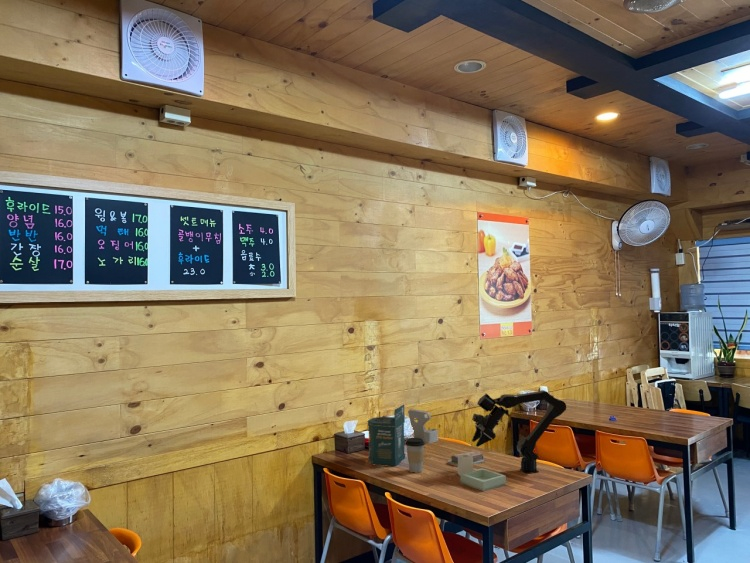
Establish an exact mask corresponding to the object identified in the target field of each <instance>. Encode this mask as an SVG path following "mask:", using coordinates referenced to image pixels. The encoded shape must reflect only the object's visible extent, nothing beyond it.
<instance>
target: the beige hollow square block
mask: <svg viewBox="0 0 750 563" xmlns="http://www.w3.org/2000/svg"><path fill="white" fill-rule="evenodd" d="M460 454H461V453H460ZM470 471H474V465H473V457H472V456H471V455H470V454H461V455H458V467H457V474H458V475H459V477H461V475H460V474H462V473H466V472H470Z"/></svg>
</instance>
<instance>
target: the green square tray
mask: <svg viewBox="0 0 750 563" xmlns="http://www.w3.org/2000/svg"><path fill="white" fill-rule="evenodd" d="M460 475H461V476H460ZM460 475H459V476H460V484H462V485H466V486H468V487H471V488H474V489H476V490H479V491H481V492H485V491H489V490H492V489H493V490H494V489H496V488H500V487H503V486H506V485H507V480H506V479H507V478H506V475H504V474H502V473H499V472H495V471H492V470H488V469H485V468H484V467H483V468H479V469H473V471H470V472H466V473H462V474H460Z"/></svg>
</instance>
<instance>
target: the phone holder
mask: <svg viewBox="0 0 750 563" xmlns="http://www.w3.org/2000/svg"><path fill="white" fill-rule="evenodd" d="M407 414H408V417H409V420H410V424H411V427H413V428H412V431H413V430H414V432H413V436H414V438H421V439H423V441H424V442H425V444H432V443H435V442H438V441H439V438H438V437H439V436H438V429H436V428H431V429H427V430H426V425H425V424H427V422H429V421H430V420H431V419H432V415H431V412H429V411H425V410H420V409H416V408H415V409H414V408H410V409H409V410H408V411H407ZM415 419H416V420H417V421H416V420H415Z"/></svg>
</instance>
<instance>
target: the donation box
mask: <svg viewBox="0 0 750 563" xmlns="http://www.w3.org/2000/svg"><path fill="white" fill-rule="evenodd" d="M393 412H394V413H393V414H394V417H393V416H379V417H377V416H376V417H372V418H370V419H369V420H367V426H368V461H367V462H368V463H369V464H372V465H373V464H375V466H382V465H388V466H387V467H393V466H396V467H397V466H398V465H399V464H400V463H402V462H403V461H404V460H405V459H406V453H405V420H406V419H405V404H402V405H401V406H399V407H397V408H395V409H394V411H393ZM402 460H403V461H402ZM401 461H402V462H401Z"/></svg>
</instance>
